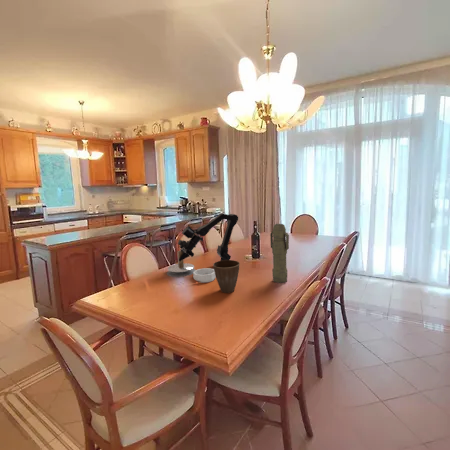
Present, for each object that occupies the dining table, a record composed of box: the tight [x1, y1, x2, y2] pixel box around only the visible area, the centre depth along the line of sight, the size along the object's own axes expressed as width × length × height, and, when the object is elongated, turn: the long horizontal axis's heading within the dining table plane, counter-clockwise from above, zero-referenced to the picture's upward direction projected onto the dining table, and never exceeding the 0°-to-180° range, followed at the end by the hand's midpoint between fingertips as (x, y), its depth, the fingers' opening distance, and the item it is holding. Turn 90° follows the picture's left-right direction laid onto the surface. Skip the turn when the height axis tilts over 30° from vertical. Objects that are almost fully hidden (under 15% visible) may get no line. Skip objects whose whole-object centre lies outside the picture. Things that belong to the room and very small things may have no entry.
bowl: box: [192, 267, 216, 284], centre depth 184 cm, size 14×14×5 cm
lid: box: [167, 250, 195, 272], centre depth 196 cm, size 18×18×12 cm
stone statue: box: [269, 223, 290, 284], centre depth 173 cm, size 9×12×35 cm
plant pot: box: [212, 259, 240, 294], centre depth 162 cm, size 15×15×16 cm
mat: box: [166, 268, 196, 278], centre depth 197 cm, size 20×20×1 cm
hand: (178, 260), depth 195 cm, fingers closed on lid, 3 cm apart
